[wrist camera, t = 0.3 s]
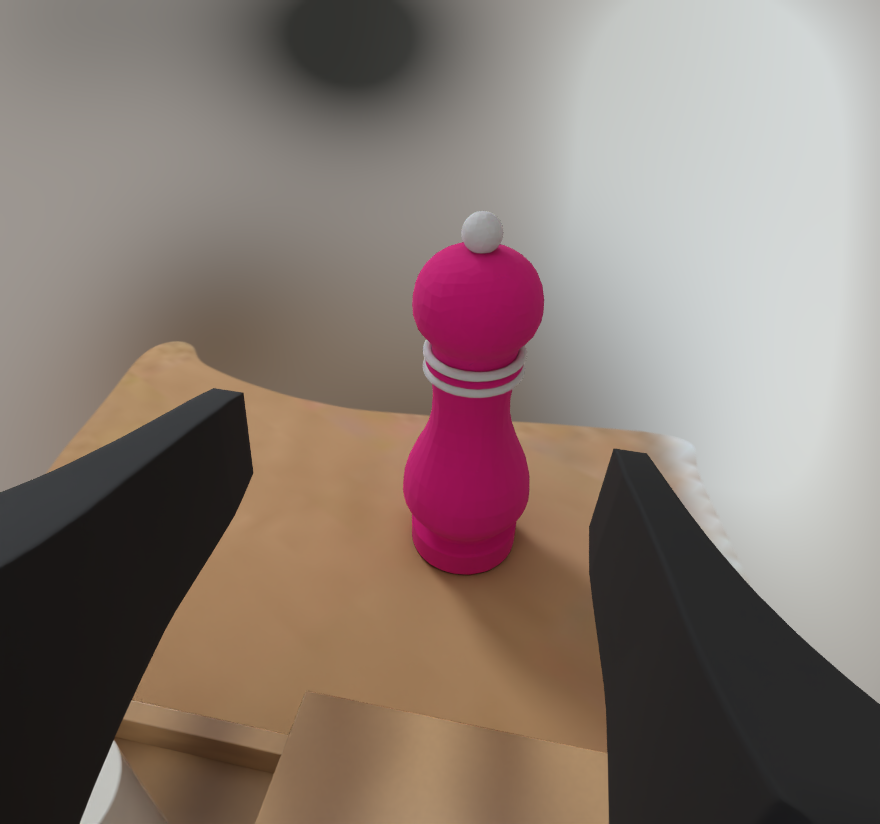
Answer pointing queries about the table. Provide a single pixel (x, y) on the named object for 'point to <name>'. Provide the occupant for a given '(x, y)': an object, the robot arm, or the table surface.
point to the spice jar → (121, 795)
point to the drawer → (200, 763)
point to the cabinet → (426, 772)
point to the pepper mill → (471, 399)
